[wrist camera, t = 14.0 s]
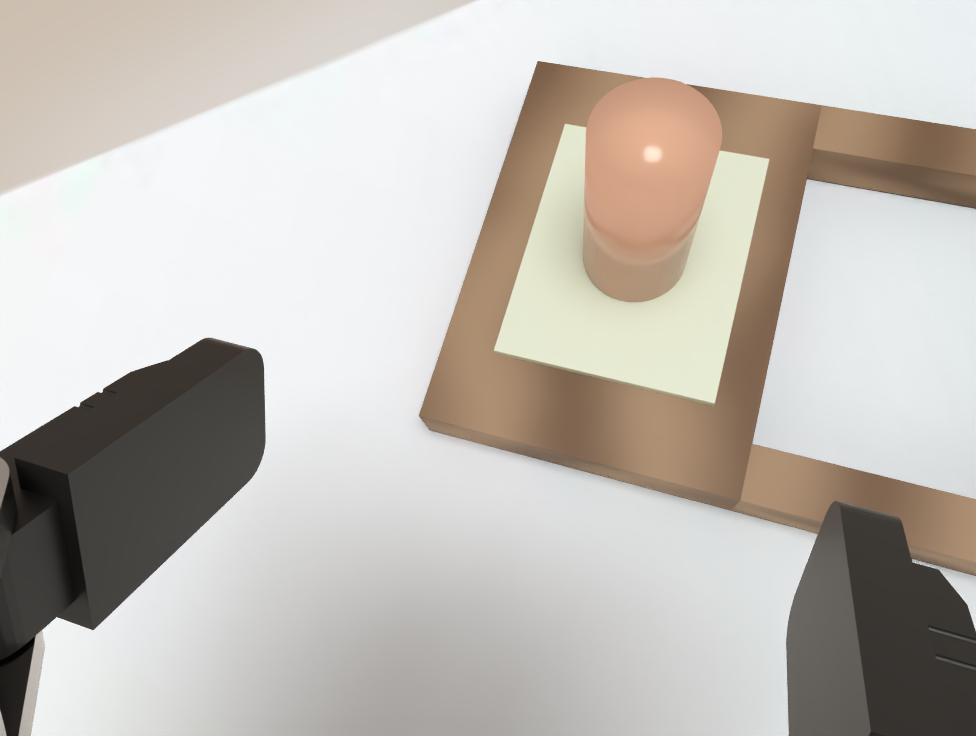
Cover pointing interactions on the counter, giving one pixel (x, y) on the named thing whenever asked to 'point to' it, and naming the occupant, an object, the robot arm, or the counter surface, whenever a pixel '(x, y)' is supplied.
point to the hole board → (678, 312)
